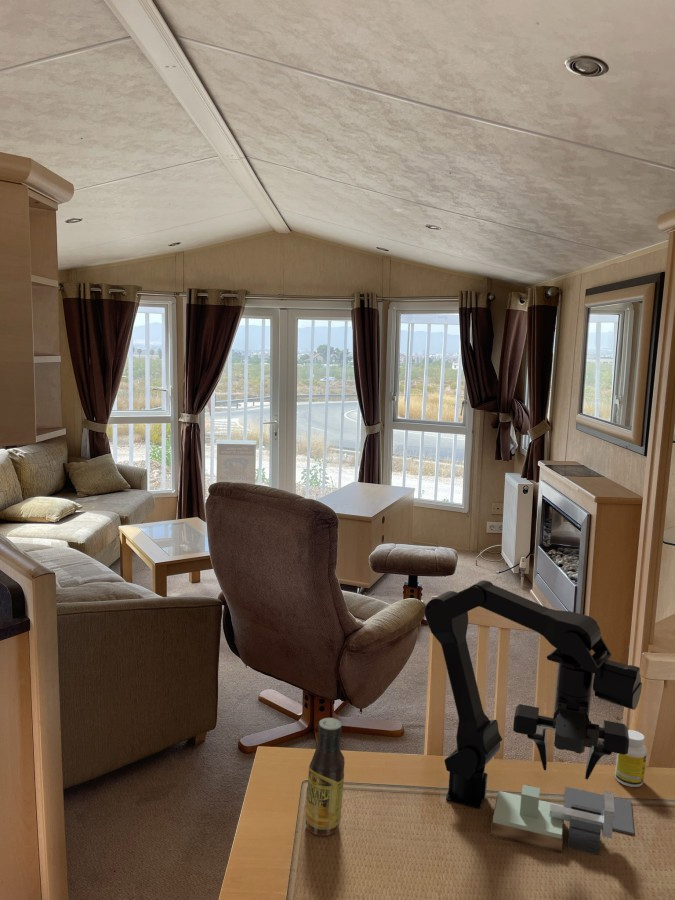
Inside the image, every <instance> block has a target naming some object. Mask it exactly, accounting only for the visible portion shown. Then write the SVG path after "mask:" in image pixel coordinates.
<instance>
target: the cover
mask: <svg viewBox="0 0 675 900" xmlns="http://www.w3.org/2000/svg"><path fill="white" fill-rule="evenodd" d="M540 793H541V788H540V787H536V786H531V785H528V784H527V785H526V784H522V789H521V795H518V794H515V793H510V792H505V791H501V790H499V791H498V792H497V795H498V797H497V796H496V799H497V802H496V801H495V804H496V807H495V806H494V809H495V812H494V811H493V813H494V816H493V815H492V818H493V823H498V824H502V825H506V826H510V827H514V828H518V829H522V830H526V831H531V832H535V833H539V834H543V835H547V836H551V837H555V838H559V839H562V826H563V820H561V819H557V818H552V817H549V815H550V804H553V805H557V806H562V807H564V804H558V803H554V802H551V801H550V802H549V801H545V800H541V799H540Z"/></svg>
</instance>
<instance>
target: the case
mask: <svg viewBox="0 0 675 900" xmlns="http://www.w3.org/2000/svg"><path fill="white" fill-rule="evenodd" d="M497 797H498V794H496V800H495V805H494V809H493V814H492V818H491V823H490V824H491V825H490V826H491V827H490V837H494V838H498V839H502V840H506V841H509V842H510V841H511V842H514V843H518V844H523V845H525V846H531V847H534V848H538V849H542V850H547V851H551V852H555V853H557V854H562V851H563V841H564V825H565V820H563V826H562V839H559V838H555V837H551V836H547V835H543V834H539V833H535V832H531V831H526V830H522V829H518V828H514V827H510V826H506V825H502V824H498V823H493V816H494V812H495V807H496V802H497Z"/></svg>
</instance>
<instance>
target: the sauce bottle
mask: <svg viewBox="0 0 675 900" xmlns="http://www.w3.org/2000/svg"><path fill="white" fill-rule="evenodd" d="M317 731H318V742H317V746H316V748H315V751H314V754H313V756H312V759H311V761H310V763H309V765H308V766H309V767H308V777H307V789H306V790H307V791H306V805H305V815H304V816H305V825H306V829H307V830H308V831H309V832H310V833H311V834H313V835H316V836H319V837H320V836H321V837H327V836H331V835H333V834H335V833H337V831H339V827H340V824H341V818H342V807H343V806H342V805H343V792H344V779H345V763H346V762H345V755H343V752H342V751H341V748H340V746H341V743H340V741H341V740H340V739H341V734H342V731H343V724H342V722H341V721H340V720H339V719H336V718H334V717H324V718H322V719H320V720H319V721H318V727H317Z"/></svg>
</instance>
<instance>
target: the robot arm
mask: <svg viewBox="0 0 675 900" xmlns="http://www.w3.org/2000/svg"><path fill="white" fill-rule="evenodd" d="M426 603H427V604H426V605H425V607H424V617H425V620H426V623H427V625H428V628H429V631H430V633H431V635H433V636H434V638H435V639H436V640H437V641H438V642H439V643H440V646H441V649H442V655H443V658H444V662H445V667H446V670H447V675H448V678H449V679H448V680H449V685H450V687H451V691H452V695H453V700H454V704H455V705H454V706H455V709H456V713H457V716H458V717H457V718H458V721H457V722H458V723H457V729H456V735H455V736H456V738H455V739H456V741H455V743H456V749H454V750H453V752H451V753H450V754H449V755H448V756H447V757H446V758H444V764H445V769H446V771H447V772H449V775H448V776H449V777H448V788H447V789H448V791H447V793H446V797H445V800H446V801H448V802H451V803H453V804H454V803H456V804H459V805H464V806H467V807H472V808H475V809H480V808H481V807H482V803H483V802H484V801H485V799H486V797H487V788H488V778H489V777H488V775H489V774H488V773H487V772H486V766H487V764H488V763H489V762H490V761H491V760H492V759H493V758H494V757H495V756H496V755H497V754H498V752H499V751H500V748H501V742H502V741H503V737H502V736H501V734H500V731H499V723H498V720H497V719H492V720H490V718H489V717H488V716H487V715H486V714H485V712H484V708H483V704H482V700H481V696H480V693H479V686H478V684H477V679H476V674H475V671H474V667H473V663H472V659H471V658H472V657H471V654H470V651H469V647H468V641H467V632H468V625H469V613H468V612H469V611H472V610H474V609H475V608H478V607H479V608H483V609H485V610H487V611H489V612H491V613H494V614H496V615H497V616H501V617H503V618H505V619H506V620H509V621H511V622H513V623H516V624H518V625H521V626H523V627H524V628H527V629H529V630H530V631H531V630H532V631H534V632H536V633H537V634H540V636H542V637H543V638H544V639H545V640H546V641H547V642H548V643H549V645H551V646H552V647H554V648H555V649H554V650H552V651H550V653H548V655H546V660H548V661H550V662H554V663H557V664H558V669H557V680H556V689H555V700H554V711H553V715H552V716H553V717H549V716H543V715H540V714H539V713H540V707H536V706H533V705H532V706H531V705H526V704H522V703H520V704H518V705H517V706H515V713H514V716H513V717H514V718H513V727H512V731H513V732H514V733H516V734H521V735H527V736H526V737H527V738H528V739H529V740H532V741H533V742H534V743H535V745H536V748H537V750H538V753H539V757H540V758H539V759H540V761H541V765H542V768H543V771H547V764H548V746H547V745H548V743H547V730H552V731H554V739H553V740H554V741H553V745H554V746H555V748H556V749H558V750H561V751H563V750H564V751H569V752H570V751H571V752H573V753H576V754H583V753H585V752H586V750H585V749H586V748H589V751H588V755H587V756H588V757H587V761H586V766H585V773H584V774H585V775H584V779H585V780H587V781H588V780H589V778H590V777H591V775H592V772H594V771H593V770H594V769H595V766H596V765H597V764H598V762H599V761H600V759H601V758H602V757H604V756H605V755H606V756H611V755H612V754H613V753H615V754H617V753H619V754H624V755H625V754H628V748H629V735H628V730H629V729H628V727H627V725H626V724H625V723H621V722H620V723H619V722H616V721H610V720H605V719H603V723H602V724H603V725H599V724H597V723H592V721H591V719H590V709H591V703H592V701H591V699H592V690H593V691H594V696H595V697H597V698H598V700H602V701H603V702H608V703H611V704H615V705H618V706H620V707H624V708H627V709H629V710H633V711H635V710H636V709H637V707H638V704H639V701H640V700H641V699H640V698H641V693H642V689H643V682H642V676H641V674H640V671H641V668H640V666H635V665H631V664H629V665H628V664H624V663H621V662H617V661H614V660H610V659H611V658H612V653H611V652H610V650H609V648H608V646H607V645H606V644H607V643H605V641H604V638H602V635H601V634H602V632H601V628H600V626H599V624H598V622H597V620H596V619H595V618H593V617H591V616H589V615H586V614H582V613H579V612H578V613H577V612H573V611H569V610H568V611H567V610H556V609H552V608H549V607H547V606H544V605H543V604H540V603H538V602H534V601H532V600H530V599H528V598H525V597H523V596H521V595H518V594H517V593H513V592H511V591H508V590H507V589H505V588H502V587H500V586H497V585H494V584H493V583H492V582H491V581H489V580H485V579H484V580H480V581H478V582H477V583H474V584H473V585H471V586H470V587H467V588H464V589H463V590H461V591H458V592H456V591H455V590H448V591H444V592H443V593H442V594H440V595H437V596H436V597H434V598H432V599H430V600H429V601H428V602H426ZM591 651H593V652H594V653H593V654H592V653H591Z"/></svg>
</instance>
